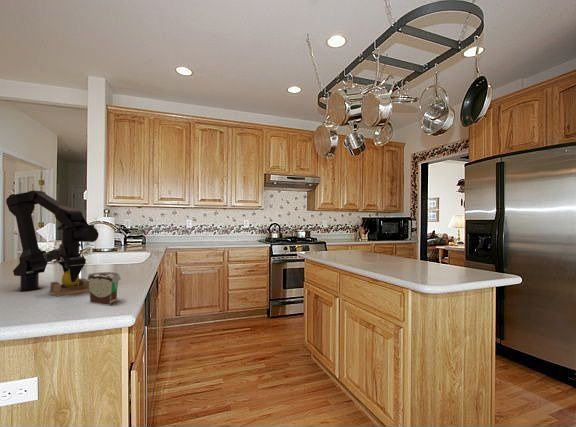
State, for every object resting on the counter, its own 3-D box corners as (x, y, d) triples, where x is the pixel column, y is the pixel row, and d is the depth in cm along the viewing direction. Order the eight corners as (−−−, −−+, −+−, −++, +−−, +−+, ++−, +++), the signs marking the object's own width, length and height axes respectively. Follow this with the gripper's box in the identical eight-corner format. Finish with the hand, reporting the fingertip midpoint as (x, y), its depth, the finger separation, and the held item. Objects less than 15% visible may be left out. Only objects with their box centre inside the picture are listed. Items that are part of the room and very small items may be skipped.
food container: (128, 301, 108) (128, 273, 108) (113, 305, 102) (113, 276, 102) (102, 297, 112) (103, 270, 112) (87, 302, 106) (87, 273, 106)
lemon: (69, 291, 116) (70, 270, 116) (57, 289, 117) (58, 269, 117) (81, 288, 122) (82, 268, 122) (70, 286, 123) (71, 267, 123)
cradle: (49, 292, 118) (49, 282, 118) (83, 287, 127) (83, 277, 127) (54, 296, 112) (54, 286, 112) (90, 291, 121) (90, 281, 121)
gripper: (40, 241, 120) (39, 279, 120) (50, 244, 107) (49, 288, 107) (73, 239, 128) (73, 275, 128) (86, 242, 116) (85, 282, 116)
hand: (70, 280), depth 119 cm, fingers open, 9 cm apart
